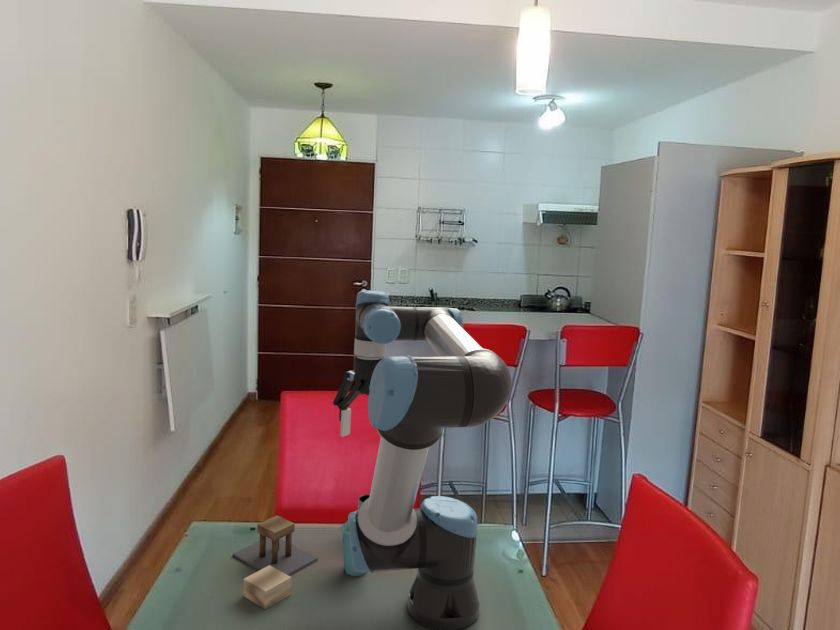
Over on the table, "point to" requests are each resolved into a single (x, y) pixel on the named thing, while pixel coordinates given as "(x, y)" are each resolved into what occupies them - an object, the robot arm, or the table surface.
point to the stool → (275, 536)
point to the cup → (348, 552)
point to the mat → (284, 564)
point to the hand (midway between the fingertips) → (366, 442)
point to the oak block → (267, 587)
